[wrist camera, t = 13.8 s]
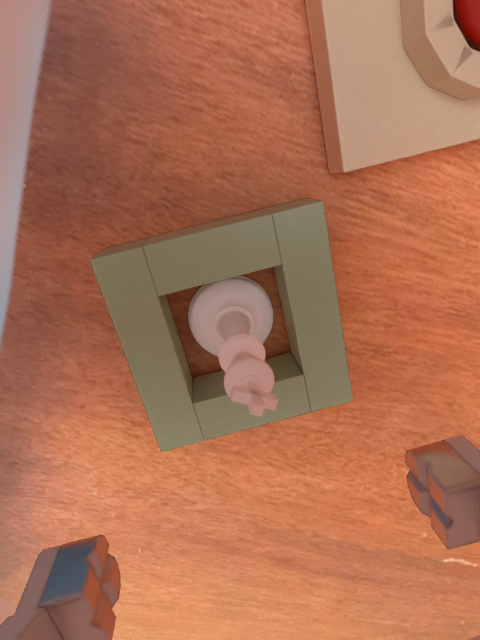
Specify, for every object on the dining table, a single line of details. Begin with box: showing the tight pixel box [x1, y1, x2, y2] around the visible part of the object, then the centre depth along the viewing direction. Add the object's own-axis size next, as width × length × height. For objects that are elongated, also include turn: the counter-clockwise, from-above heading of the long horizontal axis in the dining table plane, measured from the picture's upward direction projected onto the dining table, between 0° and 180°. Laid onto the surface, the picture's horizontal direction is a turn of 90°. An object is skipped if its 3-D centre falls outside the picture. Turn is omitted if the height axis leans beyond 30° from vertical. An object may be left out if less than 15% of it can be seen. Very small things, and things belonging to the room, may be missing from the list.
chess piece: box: [188, 276, 279, 417], centre depth 18 cm, size 5×5×10 cm
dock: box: [90, 198, 353, 452], centre depth 22 cm, size 11×11×3 cm
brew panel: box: [305, 0, 480, 174], centre depth 17 cm, size 14×11×4 cm
